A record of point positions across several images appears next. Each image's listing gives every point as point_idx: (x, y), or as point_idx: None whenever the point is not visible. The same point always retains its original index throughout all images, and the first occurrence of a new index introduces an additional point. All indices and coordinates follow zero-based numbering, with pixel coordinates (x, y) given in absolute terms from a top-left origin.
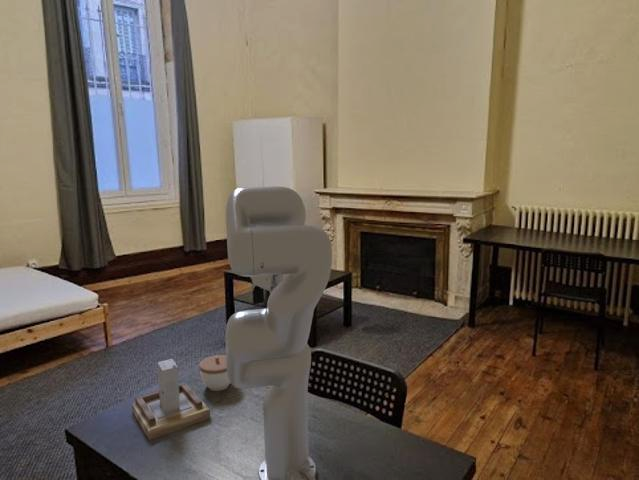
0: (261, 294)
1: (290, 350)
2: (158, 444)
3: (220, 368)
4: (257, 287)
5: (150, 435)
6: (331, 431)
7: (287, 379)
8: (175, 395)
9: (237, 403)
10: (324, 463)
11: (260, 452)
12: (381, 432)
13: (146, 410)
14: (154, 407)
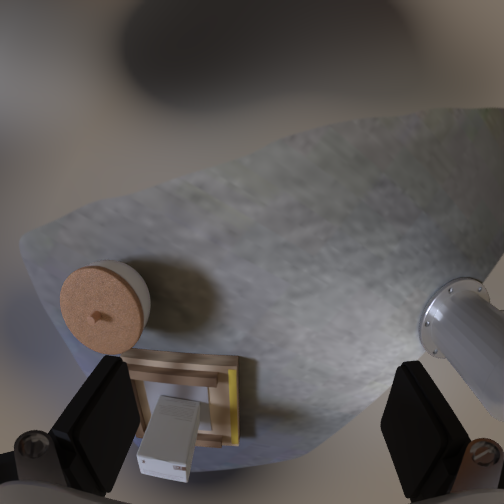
0: (104, 420)
1: None
2: (259, 430)
3: (135, 326)
4: (77, 489)
5: (239, 438)
6: (436, 193)
7: None
8: (196, 425)
9: (219, 292)
10: (477, 260)
11: (393, 329)
12: (483, 127)
13: None
14: None
